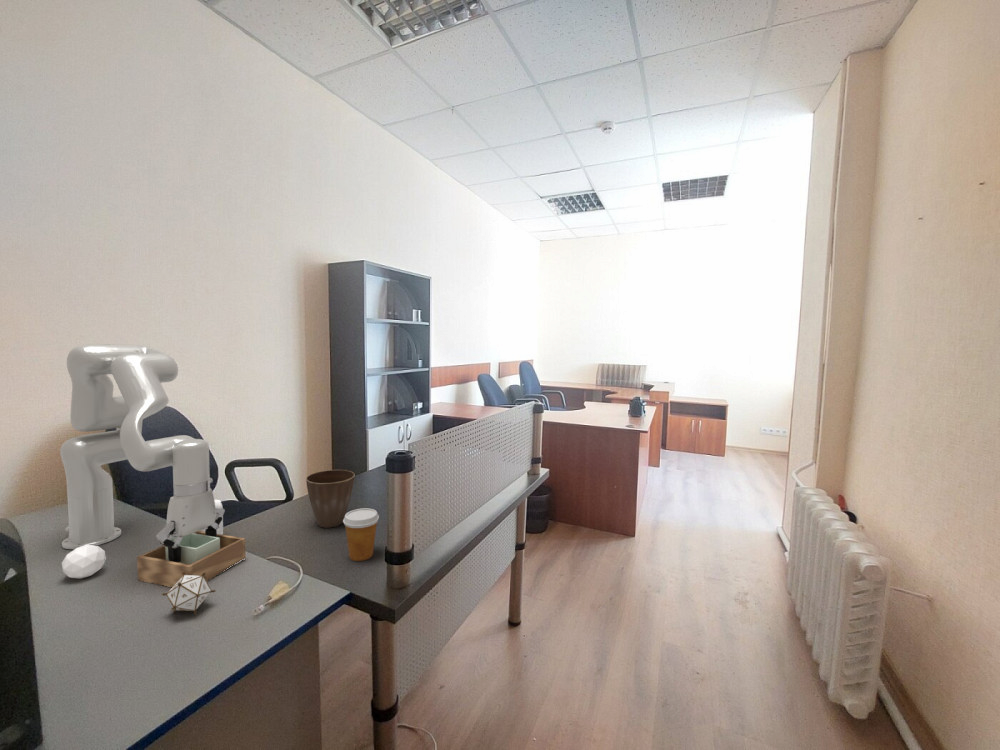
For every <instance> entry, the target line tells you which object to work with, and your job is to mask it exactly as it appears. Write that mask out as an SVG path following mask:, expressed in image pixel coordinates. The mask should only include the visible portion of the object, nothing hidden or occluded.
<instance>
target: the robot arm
mask: <svg viewBox="0 0 1000 750" xmlns="http://www.w3.org/2000/svg"><path fill="white" fill-rule="evenodd" d="M66 369H67V371H68V375H69V377H70V380H71V384H72V385H71V387H72V388H71V398H70V399H71V401H70V424H71V427H72V428H73V429H74V430H75V431H78V432H84V433H85V432H87V434H82V435H78V436H75V437H71V438H69V439H67V440H65V441H64V442H63V443H62V445H61V446H60V449H59V453H60V454H59V455H60V458H61V461H62V464H63V465H62V466H63V468H64V473H65V478H66V479H65V480H66V494H67V497H66V498H67V511H68V526H66V527H65V532H68V537H66V538H65V539H64V540H63V541H62V542H61V547H62V548H63V549H65V550H74V549H76V548H78V547H81V546H84V545H87V544H89V545H94V546H100V545H104V544H106V543H108V542H111V541H113V540H115V539H118V537H120V536H121V535H122V529H121V528H119V527H117V526H116V527H115V518H114V515H115V513H114V489H113V478H112V476H111V475H110V473H109V472H107V470H104V469H103V468H102V466H104V465H108V464H112V463H116V462H120V461H128V463H129V465H130V466H131V467H132V468H133V469H135V470H136V471H139V472H152V471H156V470H159V469H162V468H163V469H164V468H167V467H172V481H173V484H172V485H173V496H170V498H169V502H168V506H167V512H166V513H167V514H166V525H165V526H164V527H163V529H161V530H160V531H159V532H157V534H156V535H155V538H156V539H157V540H158V542H159V544H160V545H161V546H163V545H165V546H166V547H168V559H169V561H172V562H177V563H179V562H180V561H181V547H180V546H178V545H179V543H180V542H181V540H182V538H183V537H185V536H188V535H190V534H192V533H195V532H197V531H199V530H202V529H204V528H206V527H207V528H208V529H206V530H205V535H207V536H213V537H217V529H218V528H219V524H220V522H221V521H222V517H223V518H224V514H225V512H226V510H225V508H223V509H220V508H215V501H214V499H215V496H214V493H213V489H212V488H211V483H213V481H214V480H213V478H212V477H210V476H211V475H210V445H209V442H208V441H207V440H206V439H202V438H194V437H193V436H189V435H185V434H183V435H173V436H170V437H169V436H168V437H163V438H158V439H157V438H156V439H151V440H146V441H145V439H144V437H143V435H142V430H143V421H144V419H146V418H148V417H151V416H152V415H155V414H156V413H159V412H160V411H161V410H163V409H164V408H165V407H166V406H168V404H169V398H168V395H167V393H166V391H165V389H164V387H163V385H162V384H163V383H164V384H165V383H170V382H172V381H175V379H176V378H177V377H178V375H179V367H178V364H177V362H176V361H175V359H174V358H173V357H172V356H171V355H170V354H169V353H166V352H163V351H161V350H158V349H155V348H153V347H150V346H148V345H147V346H146V345H140V344H102V343H101V344H100V343H99V344H98V343H97V344H95V343H94V344H93V343H92V344H82V345H78V346H75V347H73V348H72V349H71V350H70V351H69V353H68V354H67V356H66ZM109 375H112V376H113V378H114V380H115V383H116V385H117V388H118V390H119V392H120V394H121V396H120V395H119V396H118V395H117V396H114V386H115V385H114V383H113V381H112V379H111V378H110V377H109ZM161 383H162V384H161ZM110 429H111V430H112V429H116V430H112V431H111V430H110ZM105 430H110V431H105ZM97 431H103V432H97ZM89 432H93V433H89ZM94 432H95V433H94ZM168 536H169V537H168ZM174 540H175V541H174ZM173 541H174V542H173Z"/></svg>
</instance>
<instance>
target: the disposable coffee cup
mask: <svg viewBox="0 0 1000 750" xmlns="http://www.w3.org/2000/svg"><path fill="white" fill-rule="evenodd" d="M379 518H380V516H379V514H378V512H377V510H375V509H373V508H368V507H367V508H357V509H353V510H350V511H348V512H346V514H345V517H344V519H343V522H342V523H343V524H344V527H345V532H346V533H345V534H346V539H347V540H346V541H347V549H348V556H349V559H350V560H351V561H353V562H361V561H366V560H369V559H371V558H372V556H373V555H374V548H375V540H376V532H377V526H378V521H379Z"/></svg>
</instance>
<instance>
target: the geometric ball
mask: <svg viewBox="0 0 1000 750" xmlns="http://www.w3.org/2000/svg"><path fill="white" fill-rule="evenodd" d="M106 560H107V557H106V551H105V550H104V549H102V548H101V547H100V545H97V546H94V545H89V544H87V545H84V546H81V547H78V548H76V549H72V551H70V552H68V553H67V554H66V555H65V557H64V558H63V560H62V562H61V568H62V569H61V570H62V572H63V573H64V574H65V575H66V576H67V577H68V578H71V579H80V580H81V579H85V578H88V577H90V576H93V575H94V574H95V573H97V572H99V570H100V569H102V568H103V566H104V564H105V562H106Z"/></svg>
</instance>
